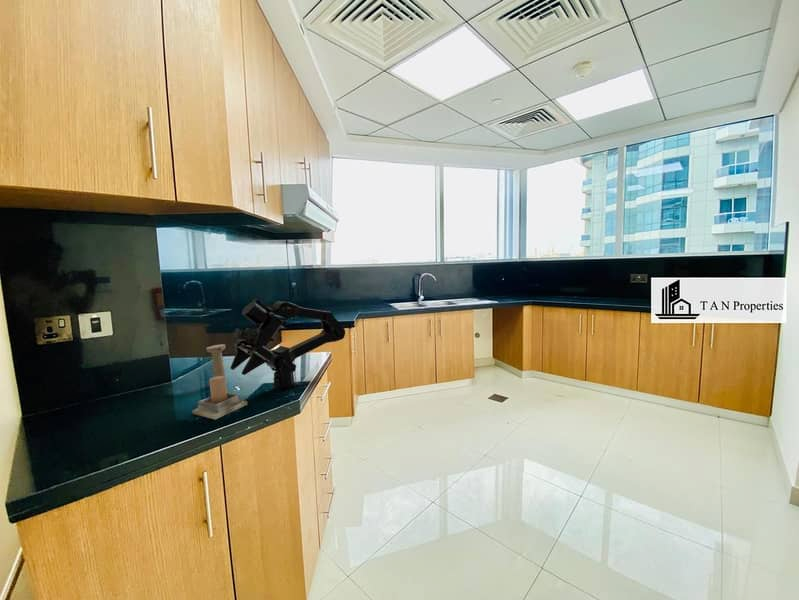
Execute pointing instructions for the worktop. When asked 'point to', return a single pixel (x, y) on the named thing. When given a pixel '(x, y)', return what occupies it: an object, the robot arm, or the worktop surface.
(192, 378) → the worktop surface
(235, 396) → the socket board
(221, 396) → the peg
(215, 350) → the handle
